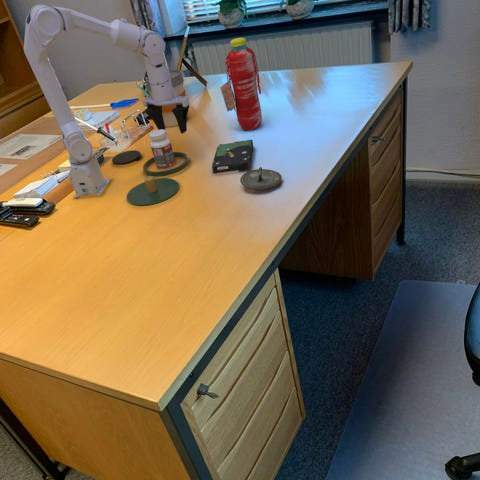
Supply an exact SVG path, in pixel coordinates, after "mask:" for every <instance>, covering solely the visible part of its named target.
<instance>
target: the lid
mask: <svg viewBox="0 0 480 480" xmlns="http://www.w3.org/2000/svg"><path fill="white" fill-rule="evenodd" d="M282 181H283V179H282V174H281V173H280V172H278V171H276V170H273V169H266V168H262V166H260V167H259V168H257V169H252V170H251V169H250V170H247V171H246V172H245V173H243V174H241V177H240V179H239V182H240V184H241V185H242V186H243V187H245V188H248V189H251V190H269V189H273V188H276V187H278V186H279V185H280V184H281V183H282Z"/></svg>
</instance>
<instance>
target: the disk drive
mask: <svg viewBox="0 0 480 480" xmlns="http://www.w3.org/2000/svg"><path fill="white" fill-rule="evenodd" d="M254 148H255V147H254V142H253V139H248V140H240V141H239V140H238V141H237V140H236V141H234V142H228V143H219V145H217V147H216V151H215V153H214V157H213V161H212V165H211V169H212V173H213V174H221V173H230V172H238V173H239V172H245V171H251V168H252V160H253V154H254Z"/></svg>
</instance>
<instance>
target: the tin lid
mask: <svg viewBox="0 0 480 480" xmlns="http://www.w3.org/2000/svg"><path fill="white" fill-rule="evenodd" d="M143 180H144V181H143V182H141V183H138V184H136V185H135V186H134V187H132V188H131V189H130V190H129V191H128V192H127V194H126V201H127V202H128V203H129V204H130V205H133V206H136V207H149V206H154V205H158V204H161V203H163V202H165V201H168V200H169V199H171V198H173V197H174V196H176V195H177V193H178V192H179V190H180V184H179V181H177V180H176V179H173V178H169V177H158V178H155V177H153V176H146V177H145V178H143Z"/></svg>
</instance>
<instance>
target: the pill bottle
mask: <svg viewBox="0 0 480 480" xmlns="http://www.w3.org/2000/svg"><path fill="white" fill-rule="evenodd" d="M167 136H168V134H167V131H166V129H165V130H164V129H160V130H158V129H156V130H153V131H151V132H150V133H149V138H150V140H151V142H150V148H151V152H152V157H154V160H155V162H154V164H155V166H156V169H157V170H158V171H166V170H170V169H173V168H175V167H176V165H177V161H176V157H174V153H173V152H174V150H173V146H172V141H171V140H170V138H169V137H167Z"/></svg>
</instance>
